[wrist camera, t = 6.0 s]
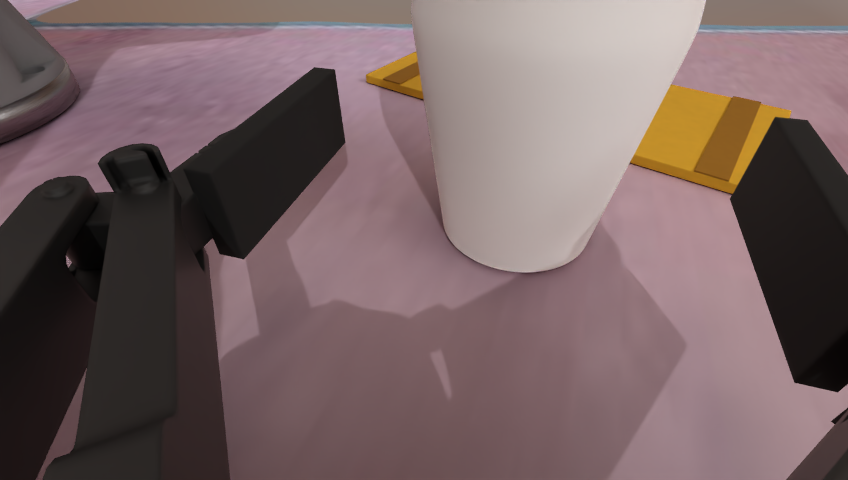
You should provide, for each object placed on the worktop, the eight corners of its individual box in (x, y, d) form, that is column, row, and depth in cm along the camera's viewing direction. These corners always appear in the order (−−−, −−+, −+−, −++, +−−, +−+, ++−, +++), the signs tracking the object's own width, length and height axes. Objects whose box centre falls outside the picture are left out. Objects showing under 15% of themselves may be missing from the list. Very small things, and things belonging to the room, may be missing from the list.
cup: (473, 155, 25) (492, -112, 18) (637, 205, 22) (756, -105, 14) (378, 245, 20) (342, -89, 12) (578, 333, 16) (720, -68, 8)
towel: (366, 82, 34) (365, 73, 33) (448, 42, 40) (448, 34, 40) (761, 203, 22) (769, 191, 21) (786, 119, 28) (792, 108, 28)
